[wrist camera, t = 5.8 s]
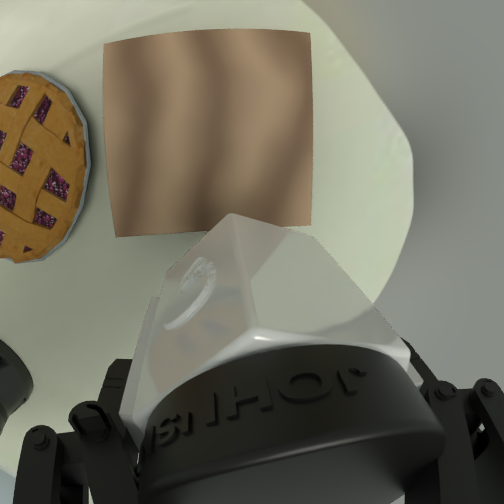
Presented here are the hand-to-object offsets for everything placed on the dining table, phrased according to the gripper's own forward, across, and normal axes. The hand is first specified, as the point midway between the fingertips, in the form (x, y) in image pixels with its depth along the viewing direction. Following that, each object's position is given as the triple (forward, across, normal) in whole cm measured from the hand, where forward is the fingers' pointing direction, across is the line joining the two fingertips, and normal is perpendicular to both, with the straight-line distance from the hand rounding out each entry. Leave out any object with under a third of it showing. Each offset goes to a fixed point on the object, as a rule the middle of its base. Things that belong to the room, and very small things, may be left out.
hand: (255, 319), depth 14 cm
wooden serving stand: (+19, -2, +9) cm, 21 cm away
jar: (+3, 0, 0) cm, 3 cm away
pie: (+20, -25, +7) cm, 32 cm away
